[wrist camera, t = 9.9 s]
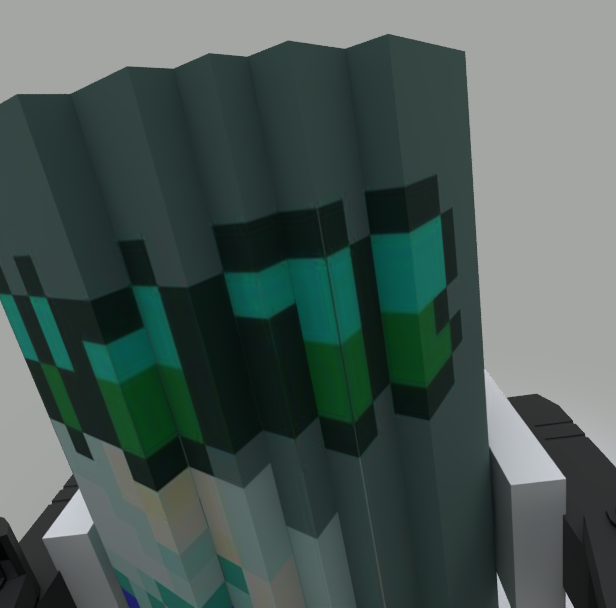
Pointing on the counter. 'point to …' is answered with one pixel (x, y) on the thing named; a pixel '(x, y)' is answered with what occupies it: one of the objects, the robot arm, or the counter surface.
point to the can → (261, 323)
